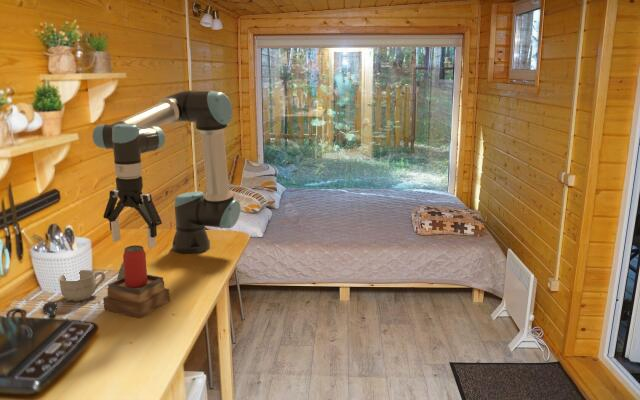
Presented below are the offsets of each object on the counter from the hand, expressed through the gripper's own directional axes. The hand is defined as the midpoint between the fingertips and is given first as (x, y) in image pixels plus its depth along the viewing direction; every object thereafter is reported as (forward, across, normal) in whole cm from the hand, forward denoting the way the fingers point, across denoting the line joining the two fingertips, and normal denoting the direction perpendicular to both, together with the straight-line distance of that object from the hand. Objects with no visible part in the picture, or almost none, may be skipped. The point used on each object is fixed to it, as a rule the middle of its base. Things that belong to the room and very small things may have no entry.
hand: (134, 243), depth 171 cm
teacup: (+21, -20, -2) cm, 29 cm away
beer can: (+14, 0, 0) cm, 14 cm away
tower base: (+20, 0, 0) cm, 20 cm away
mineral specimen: (+21, -16, +14) cm, 30 cm away
